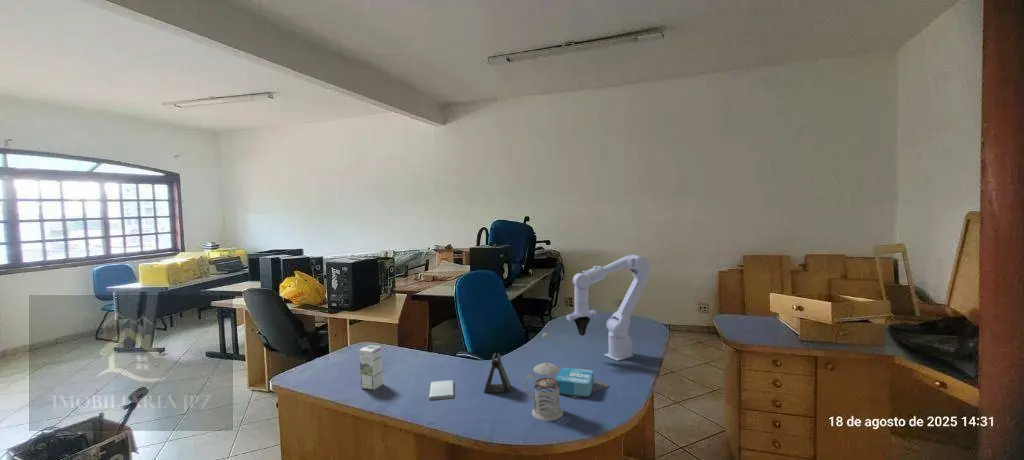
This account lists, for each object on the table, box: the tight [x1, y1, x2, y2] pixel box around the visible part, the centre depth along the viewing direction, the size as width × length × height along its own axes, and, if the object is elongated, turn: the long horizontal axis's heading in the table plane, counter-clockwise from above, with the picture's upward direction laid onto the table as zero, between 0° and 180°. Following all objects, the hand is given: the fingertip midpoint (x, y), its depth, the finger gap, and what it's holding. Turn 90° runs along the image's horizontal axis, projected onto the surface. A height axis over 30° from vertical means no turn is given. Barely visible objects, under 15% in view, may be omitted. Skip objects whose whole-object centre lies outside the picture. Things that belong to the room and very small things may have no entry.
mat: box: [547, 374, 610, 399], centre depth 145 cm, size 16×18×1 cm
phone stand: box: [483, 352, 511, 394], centre depth 142 cm, size 9×6×12 cm, turn 88°
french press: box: [524, 332, 564, 422], centre depth 124 cm, size 10×12×25 cm
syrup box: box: [358, 345, 384, 391], centre depth 147 cm, size 6×6×14 cm
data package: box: [554, 367, 595, 397], centre depth 141 cm, size 12×4×12 cm
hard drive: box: [428, 379, 454, 401], centre depth 142 cm, size 2×8×12 cm
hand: (581, 334), depth 167 cm, fingers closed
